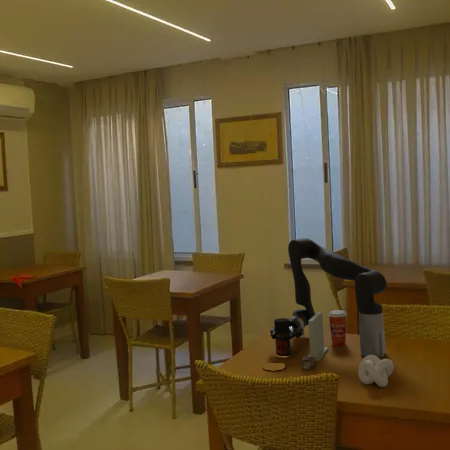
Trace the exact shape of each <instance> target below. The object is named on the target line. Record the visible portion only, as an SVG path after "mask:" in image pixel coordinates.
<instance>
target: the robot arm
mask: <svg viewBox="0 0 450 450" xmlns="http://www.w3.org/2000/svg"><path fill="white" fill-rule="evenodd" d="M287 248H288V249H287V250H288V252H287V253H288V257H289V262H290V263H289V264H290V268H291V271H292V277H293V281H294V297H295V300H294V301H295V303H296V305H299V306H302V307H304V308H305V309H302V308H301V309H295V310H294V311H292V312H293V313H292V316H291V317H289V318H288V319H289V331H290V333H289V334H288V335H287V340H290V341H291V340H292V339H299V338H301V337H302V336H304V335H305V332H304V331H305V330H304V329H305V328H306V326H309V320H310V319H311V318H312V317H313V316H314V315H315V314H316V312H315V310H314V307H313V303H312V297H311V296H312V293H311V284H310V282H309V280H308V277H307V276H306V274H305V271H304V270H303V267H302V260H305V259H310V260H314V261H315V262H317V263H318V264H319V267H320V268H321V270H323V272H325V273H326V274H329V275H330V276H332V277H335V278H338V279H341V280H348V281H353V282H354V292H355V302H356V306H357V309H358V322H359V324H358V325H359V347H360V348H359V350H360V355H361V356H362V357H363V358H365V357H366V356H368V355H375V356H377V357H378V358H384V356H385V355H386V340H385V339H386V337H385V335H386V334H385V333H386V331H385V329H384V316H383V315H384V314H383V312H384V311H383V309H384V308H383V305H382V304H381V303H379V302H376V301H375V295H378V294H381V293H383V292H384V291H386V288H387V287H388V286H387V285H388V284H387V279H386V278H385V275H383V274H382V273H381V272H380V271H377V270H375V269H372V268H368V267H365V266H363V265H361V264H358V263H356V262H354V261H352V260H350V259H348V258H346V257H345V256H342V255H340V254H338V253H336V252H333V251H331V250H330V249H328V248H325V247H323V246H321V245H320V244H318V243H317V242H315V241H314V240H312V239H311V238H305V237H304V238H302V237H301V238H296V239H291V240H290V241H289V243H288V247H287ZM269 332H270V337H271V339H272V340H275V326H273V327H271V329H270V331H269Z"/></svg>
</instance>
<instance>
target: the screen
mask: <svg viewBox="0 0 450 450" xmlns="http://www.w3.org/2000/svg"><path fill="white" fill-rule="evenodd" d="M323 319H324V317H323V311H317V312H316V313H315V315H314V316H313V317H312V318H311V319H310V320H309V325H308V337H309V353H308V355H307V356H306V357H315V362H319V361H320V360H321V359H322V358H323V357H324V356H325V354H326V353H327V352H328V351H329V347H326V346H325V344H324V342H325V341H324V327H323V326H324V323H323Z"/></svg>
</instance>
